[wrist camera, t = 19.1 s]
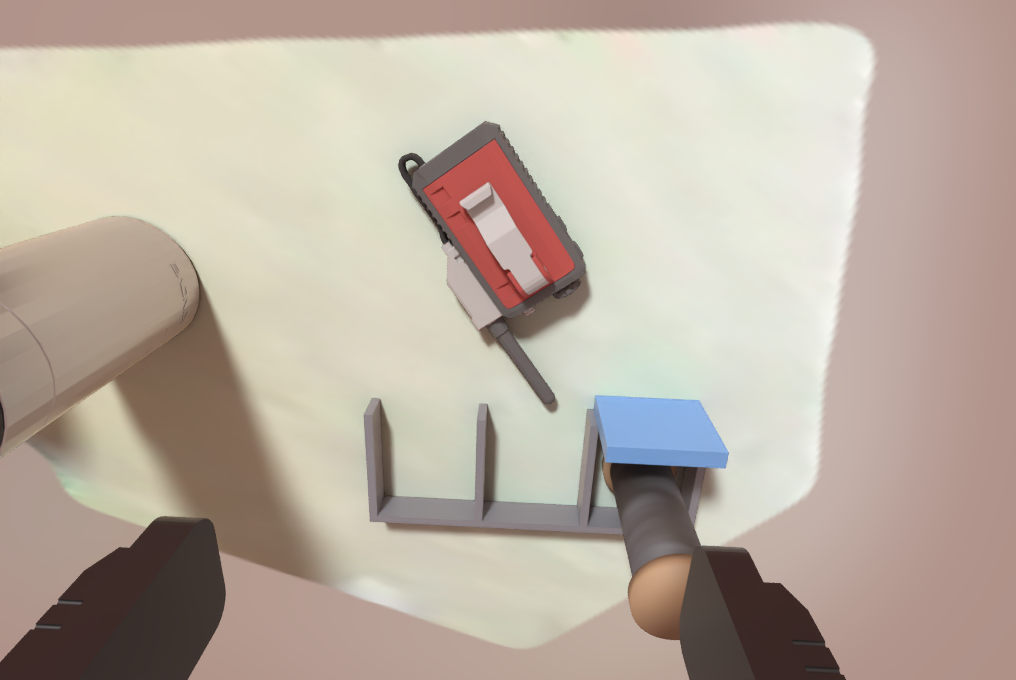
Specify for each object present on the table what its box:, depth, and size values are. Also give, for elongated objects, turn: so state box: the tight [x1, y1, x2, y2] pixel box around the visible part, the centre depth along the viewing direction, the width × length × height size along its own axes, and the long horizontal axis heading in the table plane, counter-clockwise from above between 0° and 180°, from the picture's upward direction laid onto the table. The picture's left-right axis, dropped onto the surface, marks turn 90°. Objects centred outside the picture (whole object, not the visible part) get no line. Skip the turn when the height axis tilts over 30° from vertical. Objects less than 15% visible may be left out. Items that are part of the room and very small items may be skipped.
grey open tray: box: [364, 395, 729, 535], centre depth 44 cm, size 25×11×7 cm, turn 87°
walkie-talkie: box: [398, 121, 585, 404], centre depth 39 cm, size 9×4×20 cm
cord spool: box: [602, 456, 701, 640], centre depth 40 cm, size 6×6×14 cm
